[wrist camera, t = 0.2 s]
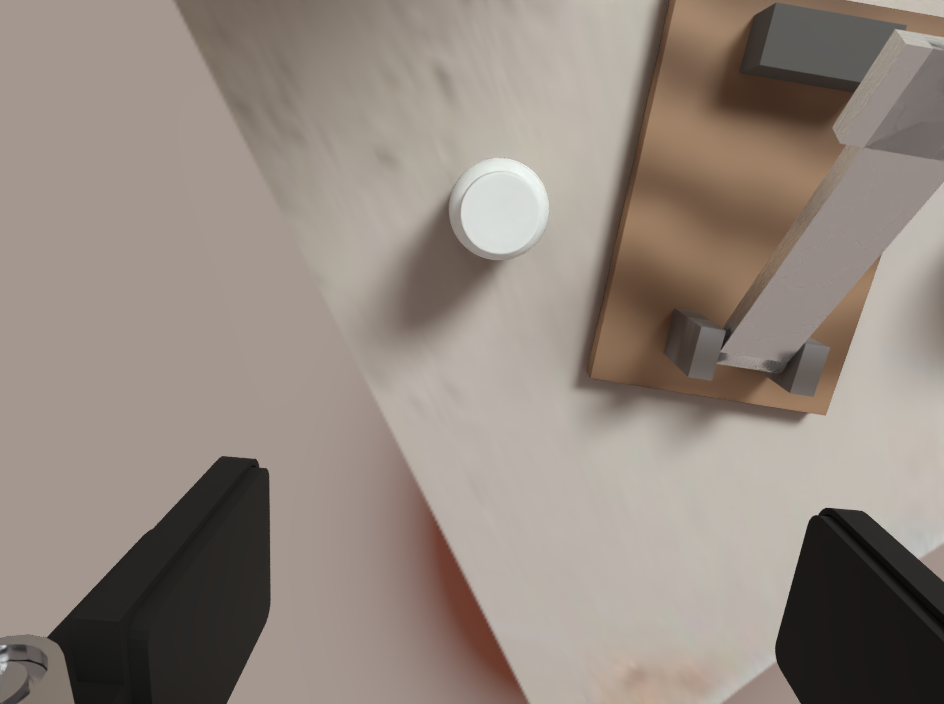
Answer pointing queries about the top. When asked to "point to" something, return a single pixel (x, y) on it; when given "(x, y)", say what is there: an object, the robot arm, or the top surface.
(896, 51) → the lever
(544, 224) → the supplement bottle
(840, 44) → the catch block
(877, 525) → the robot arm
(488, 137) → the top surface
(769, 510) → the top surface
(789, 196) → the walnut board
